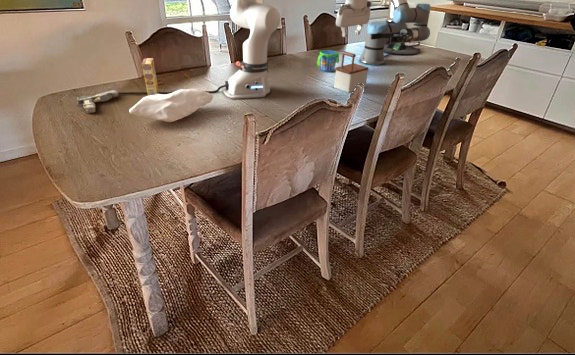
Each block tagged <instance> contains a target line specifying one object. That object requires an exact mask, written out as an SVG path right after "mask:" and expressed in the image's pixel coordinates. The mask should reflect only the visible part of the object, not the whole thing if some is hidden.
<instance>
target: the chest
mask: <svg viewBox="0 0 575 355" xmlns="http://www.w3.org/2000/svg"><path fill="white" fill-rule="evenodd" d="M368 73H369V69H368V70H364V71H361V72H357V73H353V74H350V75H349V74H346V73H343V72H340V71H337V70H335V75H334V83H333V88H334V89H338V90H339V91H343V92H346V93H351V92H355V91H354V89H355V85H356V84H358V83H363V84H364V88H366V87H367V86H366V85H367V79H368Z"/></svg>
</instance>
